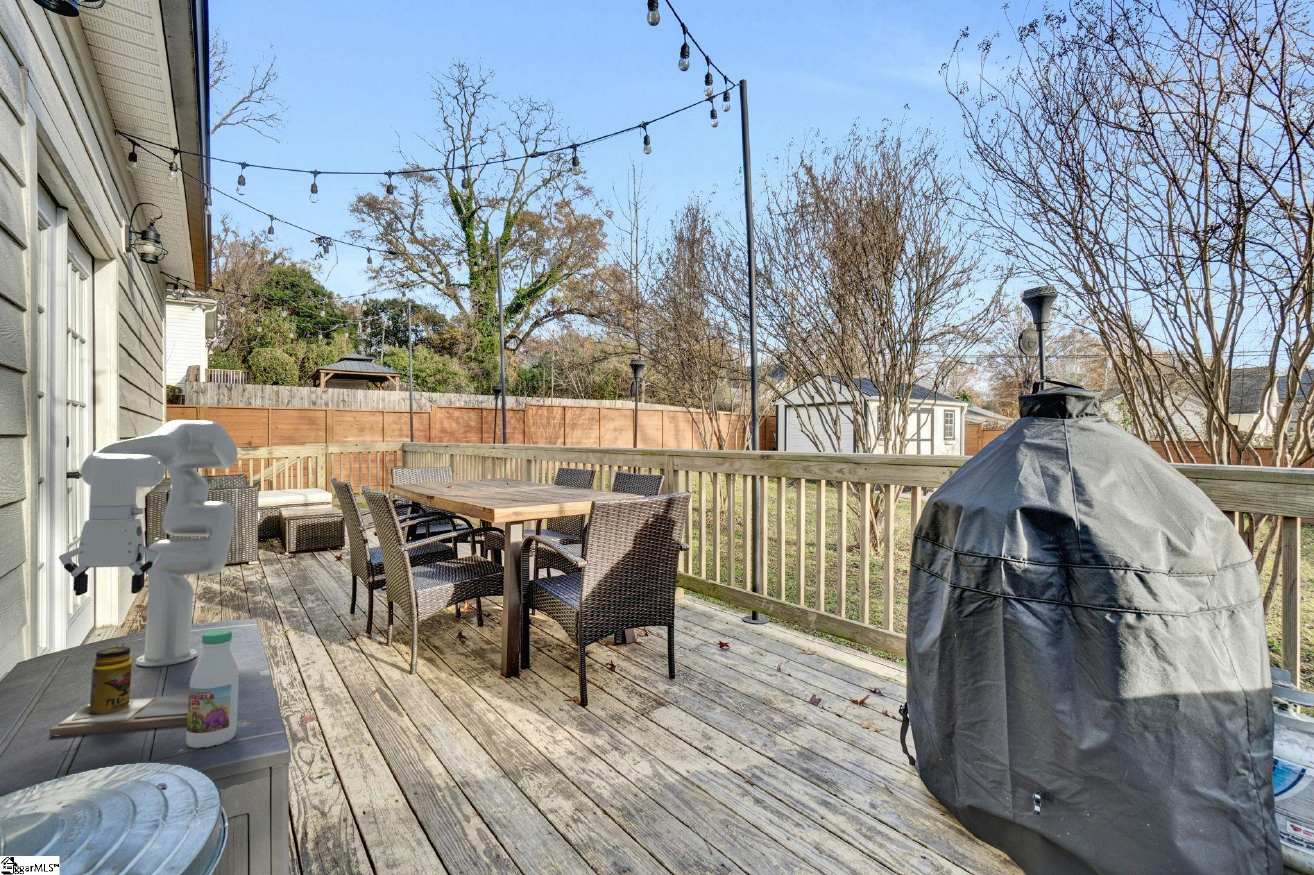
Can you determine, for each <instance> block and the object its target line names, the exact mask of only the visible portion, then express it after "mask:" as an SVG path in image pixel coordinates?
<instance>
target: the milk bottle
mask: <svg viewBox="0 0 1314 875" xmlns="http://www.w3.org/2000/svg"><path fill="white" fill-rule="evenodd" d="M232 637H233V632H232V630H229V629H215V630H211V631H207V632H205V633H203V634H202V638H201V642H202V644H201V646H202V647H203V648H202V653H201V656H200V658H199V660H198V661H197V664H196V665H195V667H194V669H193V671H192V673H191V676H190V680H189V686H188V687H189V689H188V695H189V699H188V713H187V725H186V729H185V730H186V734H185V735H186V736H185V743H186V745H187V747H189V748H194V749H202V748H203V747H205V748H210V746H211V747H215V746H214V745H216V746H219V745H222V744H225V743H226V742H229V741H231V740H232V739H233V738H234V737H235V736H236V734H237V726H238V725H237V724H238V705H239V689H240V687H239V685H240V683H239V682H240V680H239V679H240V678H239V677H240V674H239V667H238V665H237V662H236V660H235V658H234V657H233V655H232V651H231V643H232V639H233V638H232ZM201 747H202V748H201Z"/></svg>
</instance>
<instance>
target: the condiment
mask: <svg viewBox="0 0 1314 875" xmlns="http://www.w3.org/2000/svg"><path fill="white" fill-rule="evenodd" d="M130 658H131V648H130V647H128V646H114V647H113V646H111V647H106V648H103V649H100V650H98V651H97V652H96V654H95V661H94V662H95V664H94V665H93V666H92V672H91V685H90V686H91V687H90V700H89V704H90V706H87V705H81V706H79V708H78V710H77V711H76V712H77V713H76V712H75V713H76V714H75V716H74V717H73V718H72V720H75V719H82V718H88V717H95V716H104V715H111V714H118V713H124V712H127V711H129V709H130V707H131V705H132V703H133V701H134V700H129V699H131V697H130V696H131V682H132V667H133V664H132V660H131V659H130Z"/></svg>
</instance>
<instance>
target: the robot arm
mask: <svg viewBox="0 0 1314 875" xmlns="http://www.w3.org/2000/svg"><path fill="white" fill-rule="evenodd" d="M237 460H238V448H237V445H236V443H235V441H234V440H233V438H232V437H231V435H230V434H229V433H228V431H227V430H226V429H225V428H224V427H223V426H222V425H221V424H219V423H218V422H216V421H211V420H188V419H174V420H170V421H167V422H165V423H163V424H161V425H160V426H159V427H157V428H156V429H154V430H153V431H151V432H150V433H148V434H147V435H142V436H137V437H133V438H130V439H129V438H128V439H125V440H120V441H115V442H112V443H109V444H105V445H103V446H101V447H100V448H98V449H96V450H94V451H93V452H91V453H90V454H89V455H88V456H87V457H86V458H85V460H84V461H83V463H82V465H81V470H80V475H81V478H82V479H83V481H84V482H85V483H86V484H87V485H88V486H90V488H89V489H90V490H89V491H90V492H89V494H90V495H89V511H88V519H87V520H85V521H84V524H83V528H82V530H81V534H80V539H79V545H78V547H77V548H74V549H72V550H70V551H67V552H65V553H63V554H60V555H59V556H58V559H59V560H60V563H61V564H62V565H63V568H64V570H66V571H67V572H68V573H69V574H70V576H71V577H73V589H72V590H73V592H75V596H76V597H79V596H82V595H84V594H86V593H88V588H89V587H88V585H89V574H88V573H87V571H89V569H90V568H122V567H123V568H125V567H128V568H130V569H129V570H131V571H132V572H133V573H134V574H133V575H132V576H131V588H130V589H131V591H130V592H131V594H138V593H139V592H141V591H142V590H143V588H145V575H146V572H147V581H148V583H147V584H148V586H147V587H148V591H147V592H148V594H147V606H146V609H147V610H146V624H145V638H144V640H145V642H144V653H143V654H141V655H140V656H139V657H137V658H136V660H135V661H136V662H135V664H136V665H137V666H141V667H164V666H171V665H176V664H177V665H178V664H181V663H185V662H188V661H191V660H192V659H194V657H195V658H196V657H197V655H198V650H197V649H193V648H191V643H192V640H193V637H192V624H193V623H192V622H193V607H194V606H193V605H194V604H193V603H194V587H193V586H192V584H191V583H190V581H189V580H188V579H187V578H186V577H185V576H187V575H210V574H211V575H212V574H216V573H217V574H218V573H219V572H221V571H222V570H223V569H224V568H225V566H226V563H227V560H228V555H229V550H230V546H231V542H232V536H233V531H234V527H235V526H234V525H235V520H236V519H235V511H234V508H233V506H232V505H231V504H230V503H228V502H226V501H217V500H216V501H214V500H213V501H212V500H209V501H208V496H209V491H210V486H209V483H208V482H207V481H206V479H205V478H204V477H203V476H202V475H201V474H200V473H199V471H197V470H196V469H218V470H219V469H229V468H231V467H233V466H234V465H235V463H236V462H237ZM166 471H167V474H168V476H169V479H170V483H171V487H170V488H171V489H170V493H169V496H168V500H167V503H166V504H167V505H166V507H165V511H164V515H163V520H162V521H163V522H162V529H163V531H164V533H166V534H168V535H170V536H177V537H181V538H166V539H165V538H164V539H160V540H156V541H155V542H152V544H150V545H149V546H148V547H147V546H145V544H144V543H145V542H144V532H143V531H144V530H143V526H142V521H141V519H140V518H136V517H138V515H143V514H144V508H142V507H138V505H137V489H138V488H139V489H141V488H142V489H144V488H150V487H152V488H153V487H154V486H157V485H158V484H159V483H160V482H161V481H162V480H163V479H164V477H165V473H166ZM205 536H206V537H208V538H206V537H205ZM182 537H183V538H182ZM184 537H185V538H184ZM186 537H187V538H186ZM188 537H189V538H188ZM190 537H201V538H190ZM203 537H204V538H203ZM76 556H77V563H78V564H76V563H75V562H74V561H73V557H76ZM144 557H145V563H143V562H142V561H143V560H144ZM190 659H191V660H190Z"/></svg>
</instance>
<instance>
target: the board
mask: <svg viewBox="0 0 1314 875" xmlns="http://www.w3.org/2000/svg"><path fill="white" fill-rule="evenodd" d="M188 699H189V694H181V695H169V696H168V695H167V696H154V697H143V698H130V699H129V700H134V701H133V703H132V705H131V707H130V709H129V711H127V712H124V713H118V714H111V715H104V716H95V717H88V718H82V719H75V720H72V718H73V717H74V716H75V714H76V713H77V711H75V712H74V713H73V714H71V715H69V716H68V717H66V718H65V719H63V720H61V721H60V722H59V723H57V724H56V725H54V726H52V727H51V728H50V729H49V736H55V735H67V736H76V735H75V734H80V735H89V734H90V735H91V734H100V733H111V732H112V733H113V732H123V731H124V732H125V731H132V730H133V731H135V730H146V729H157V728H167V727H181V726H187V713H188ZM86 706H90V703H88V704H87V705H86ZM67 736H66V737H67Z"/></svg>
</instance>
